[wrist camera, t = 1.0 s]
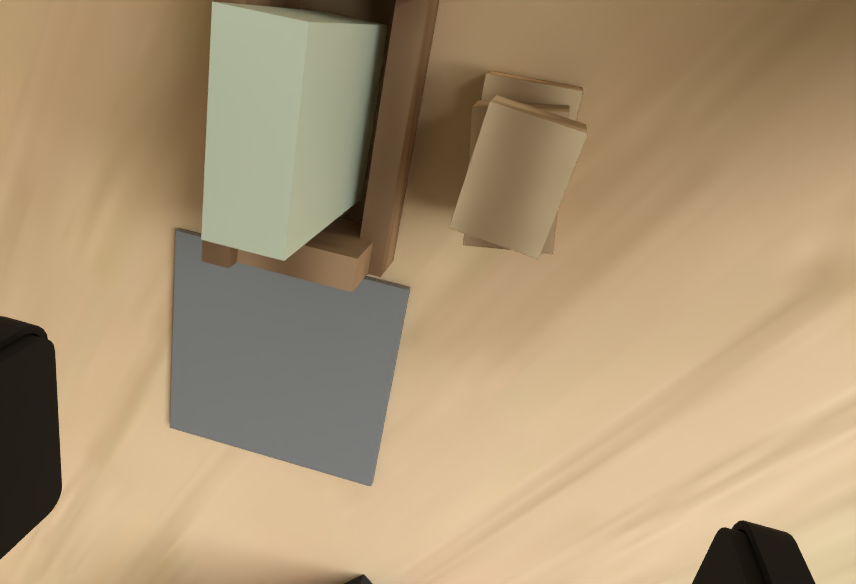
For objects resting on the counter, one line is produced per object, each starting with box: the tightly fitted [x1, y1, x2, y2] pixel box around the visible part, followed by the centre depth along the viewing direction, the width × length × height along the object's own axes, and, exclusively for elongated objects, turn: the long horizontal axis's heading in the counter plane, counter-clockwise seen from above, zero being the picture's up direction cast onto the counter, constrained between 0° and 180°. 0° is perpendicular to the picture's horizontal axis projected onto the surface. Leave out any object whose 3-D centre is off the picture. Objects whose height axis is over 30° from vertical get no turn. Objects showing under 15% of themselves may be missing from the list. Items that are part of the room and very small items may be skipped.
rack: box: [201, 0, 439, 292], centre depth 35 cm, size 9×17×7 cm, turn 170°
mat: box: [170, 229, 410, 486], centre depth 45 cm, size 16×16×1 cm
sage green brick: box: [201, 2, 388, 261], centre depth 32 cm, size 4×10×12 cm, turn 170°
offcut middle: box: [463, 100, 570, 254], centre depth 33 cm, size 5×7×3 cm, turn 178°
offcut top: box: [449, 95, 588, 259], centre depth 30 cm, size 4×6×3 cm
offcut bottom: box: [481, 71, 583, 121], centre depth 36 cm, size 5×8×3 cm, turn 171°
